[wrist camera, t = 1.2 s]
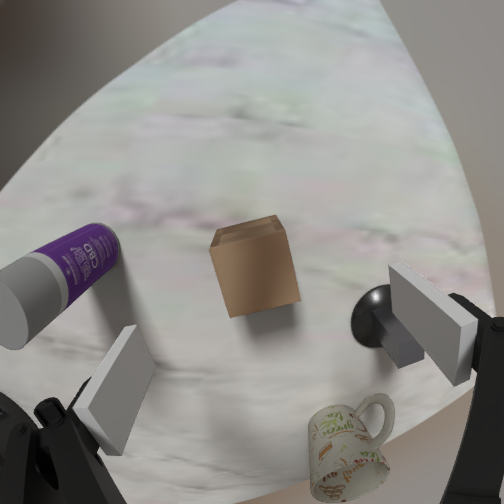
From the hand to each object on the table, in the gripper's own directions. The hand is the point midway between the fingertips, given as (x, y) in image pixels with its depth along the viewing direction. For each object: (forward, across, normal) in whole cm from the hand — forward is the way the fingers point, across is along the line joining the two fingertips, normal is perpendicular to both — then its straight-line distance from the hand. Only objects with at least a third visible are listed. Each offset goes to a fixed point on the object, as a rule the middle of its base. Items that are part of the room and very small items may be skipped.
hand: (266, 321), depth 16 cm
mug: (+14, +5, -22) cm, 26 cm away
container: (+13, -14, +4) cm, 20 cm away
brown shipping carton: (+13, 0, 0) cm, 13 cm away
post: (+14, +11, -10) cm, 20 cm away
